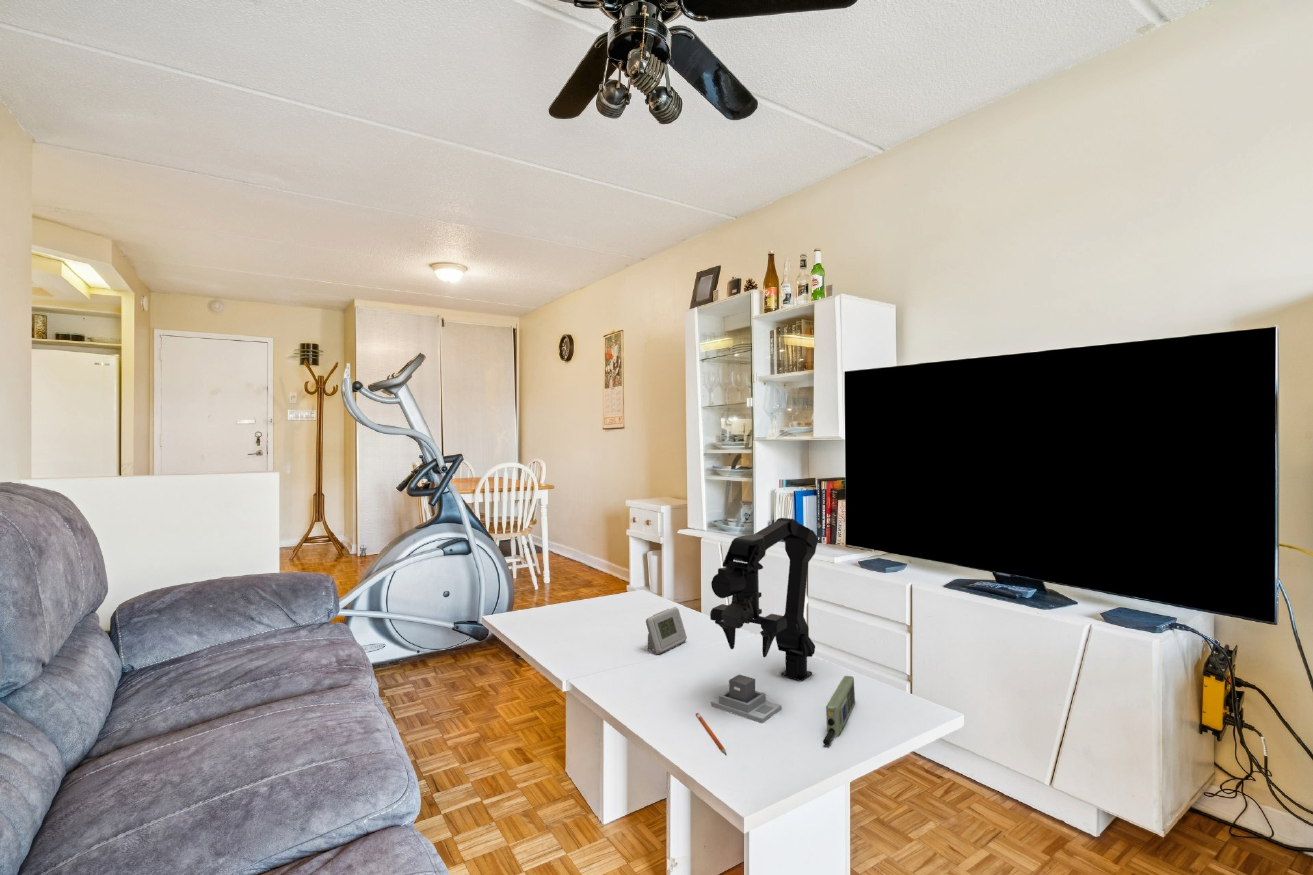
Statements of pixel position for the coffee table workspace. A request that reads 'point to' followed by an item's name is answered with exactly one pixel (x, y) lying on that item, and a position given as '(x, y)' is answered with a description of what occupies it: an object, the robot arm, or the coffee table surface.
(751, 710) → the grey charging dock
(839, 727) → the handheld radio
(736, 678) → the block
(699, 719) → the pencil
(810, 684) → the coffee table surface
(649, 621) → the digital clock
